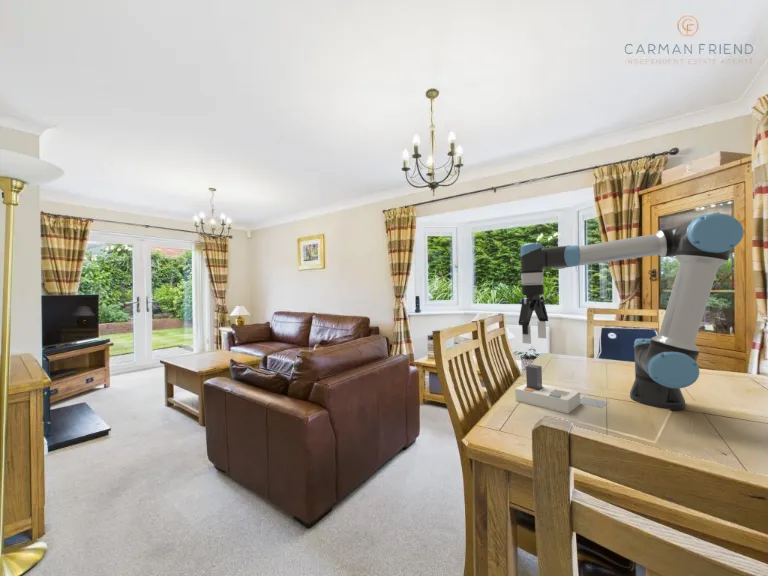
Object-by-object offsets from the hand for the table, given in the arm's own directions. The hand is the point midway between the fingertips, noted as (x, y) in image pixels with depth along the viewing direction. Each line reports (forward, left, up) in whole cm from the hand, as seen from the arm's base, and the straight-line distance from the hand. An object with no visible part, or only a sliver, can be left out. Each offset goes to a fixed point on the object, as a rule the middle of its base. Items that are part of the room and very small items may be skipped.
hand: (534, 340), depth 120 cm
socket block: (-4, +1, -23) cm, 23 cm away
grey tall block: (0, +1, -22) cm, 22 cm away
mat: (-16, -10, -23) cm, 29 cm away
